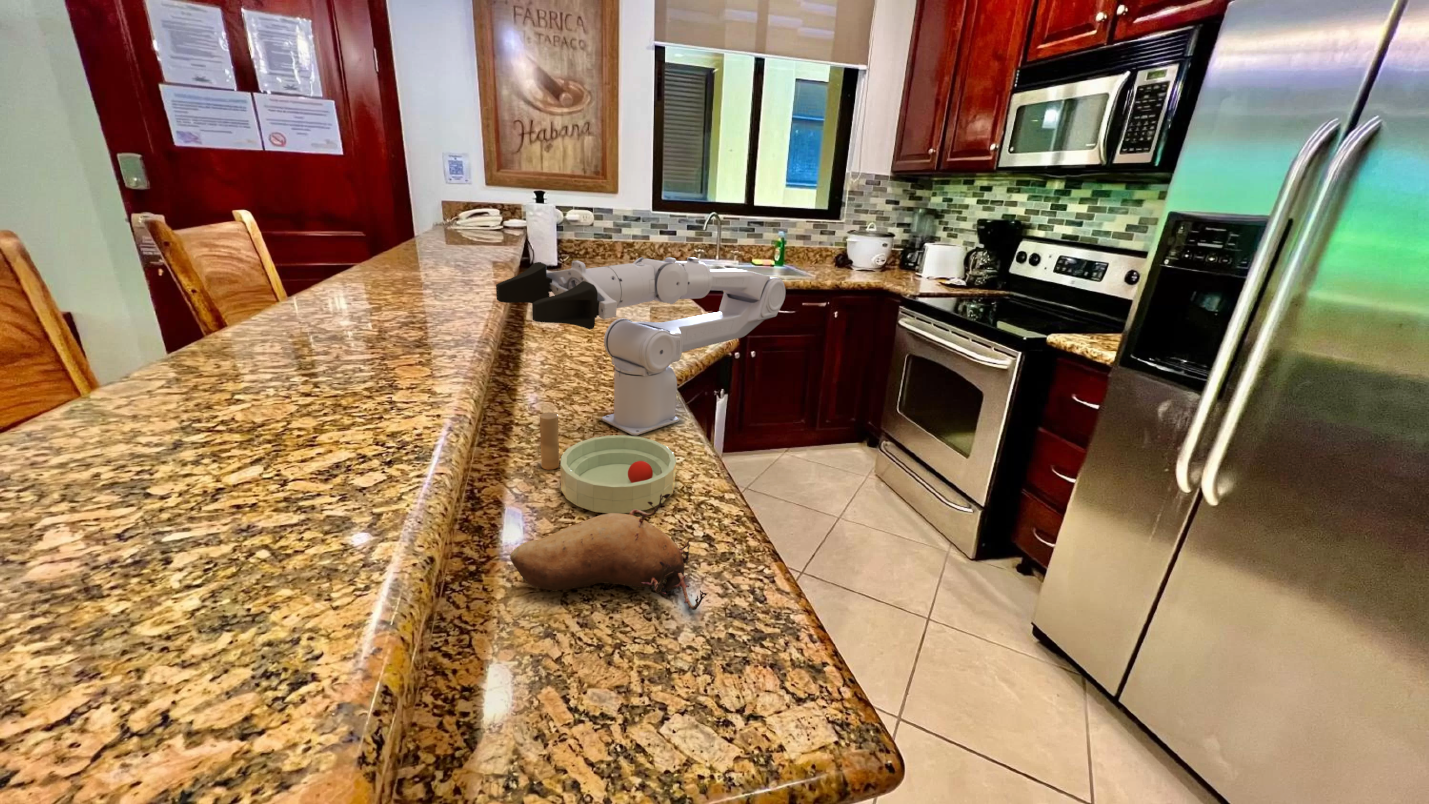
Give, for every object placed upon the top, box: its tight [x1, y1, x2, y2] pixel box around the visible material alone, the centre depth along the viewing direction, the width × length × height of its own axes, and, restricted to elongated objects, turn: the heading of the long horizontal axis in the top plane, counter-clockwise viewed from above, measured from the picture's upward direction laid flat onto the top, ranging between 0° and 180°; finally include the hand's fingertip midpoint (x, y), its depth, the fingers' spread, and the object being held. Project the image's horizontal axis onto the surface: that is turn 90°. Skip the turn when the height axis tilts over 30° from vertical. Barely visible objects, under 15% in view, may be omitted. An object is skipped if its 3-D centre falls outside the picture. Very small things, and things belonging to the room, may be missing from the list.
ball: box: [628, 461, 653, 483], centre depth 66 cm, size 3×3×3 cm
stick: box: [539, 411, 560, 471], centre depth 69 cm, size 2×2×7 cm
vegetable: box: [509, 494, 708, 611], centre depth 48 cm, size 16×11×10 cm
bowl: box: [559, 434, 677, 514], centre depth 66 cm, size 13×13×4 cm
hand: (515, 302), depth 64 cm, fingers open, 7 cm apart
